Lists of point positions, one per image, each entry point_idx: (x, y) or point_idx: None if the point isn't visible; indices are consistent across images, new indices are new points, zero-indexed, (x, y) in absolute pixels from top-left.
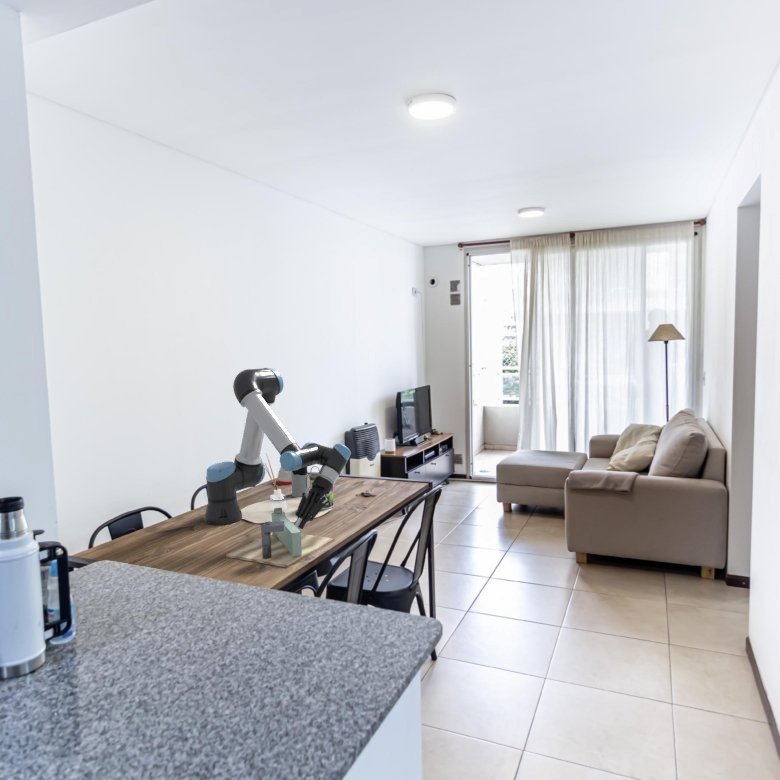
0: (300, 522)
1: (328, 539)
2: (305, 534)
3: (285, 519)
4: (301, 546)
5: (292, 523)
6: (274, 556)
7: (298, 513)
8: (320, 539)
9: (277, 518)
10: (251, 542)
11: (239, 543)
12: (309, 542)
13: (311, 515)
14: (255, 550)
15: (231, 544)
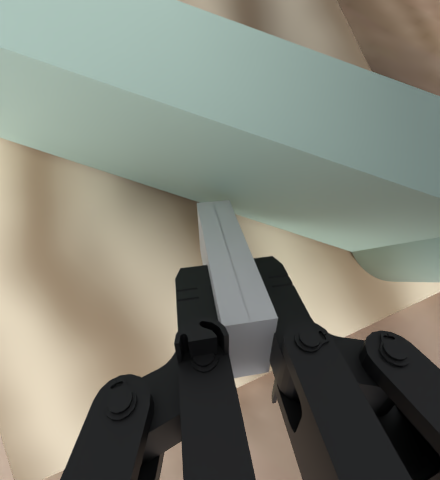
0: (215, 301)
1: (39, 439)
2: (269, 370)
3: (274, 102)
4: (75, 210)
5: (39, 58)
6: None
7: (376, 373)
8: (91, 391)
9: (418, 102)
10: (363, 57)
11: (415, 41)
12: (100, 294)
13: (79, 476)
14: (229, 2)
15: (426, 10)
